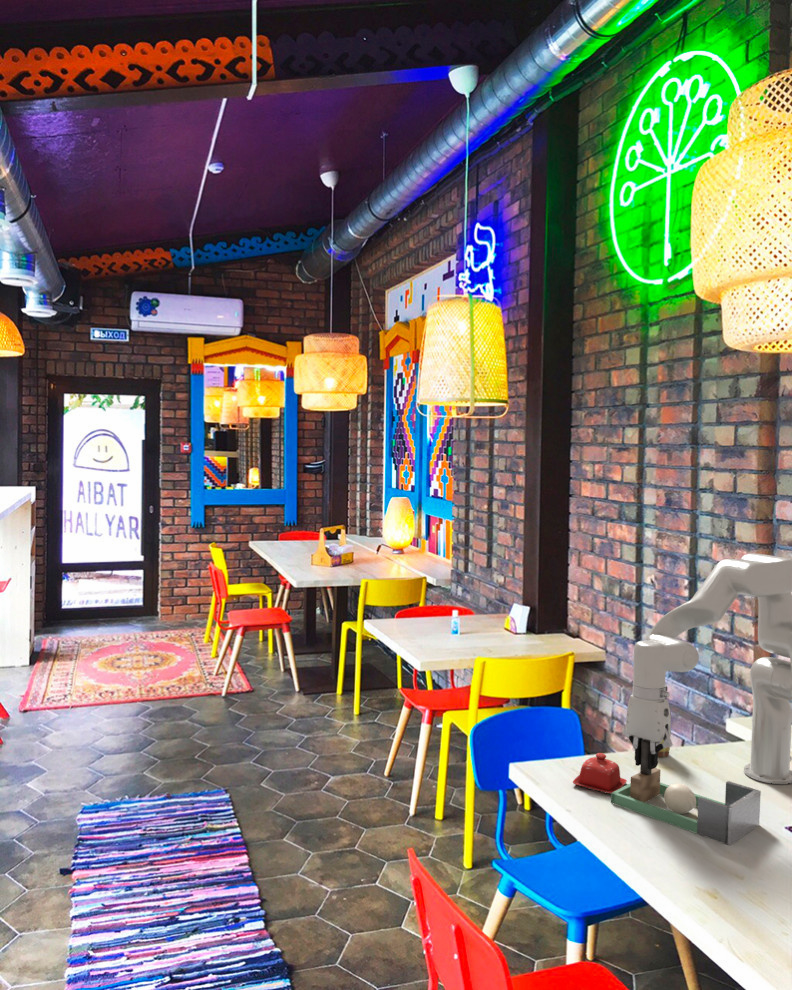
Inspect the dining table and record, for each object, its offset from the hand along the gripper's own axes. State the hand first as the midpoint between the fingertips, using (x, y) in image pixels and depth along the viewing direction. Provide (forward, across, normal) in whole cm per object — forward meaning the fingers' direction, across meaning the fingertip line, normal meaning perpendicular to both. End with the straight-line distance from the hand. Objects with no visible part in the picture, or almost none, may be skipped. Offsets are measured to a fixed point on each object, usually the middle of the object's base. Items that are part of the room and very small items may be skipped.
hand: (646, 765), depth 203 cm
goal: (+9, -21, 0) cm, 23 cm away
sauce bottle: (+9, +14, -32) cm, 36 cm away
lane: (+9, -6, 0) cm, 11 cm away
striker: (+9, 0, 0) cm, 9 cm away
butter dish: (+9, +13, 0) cm, 16 cm away
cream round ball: (+9, -9, 0) cm, 13 cm away
